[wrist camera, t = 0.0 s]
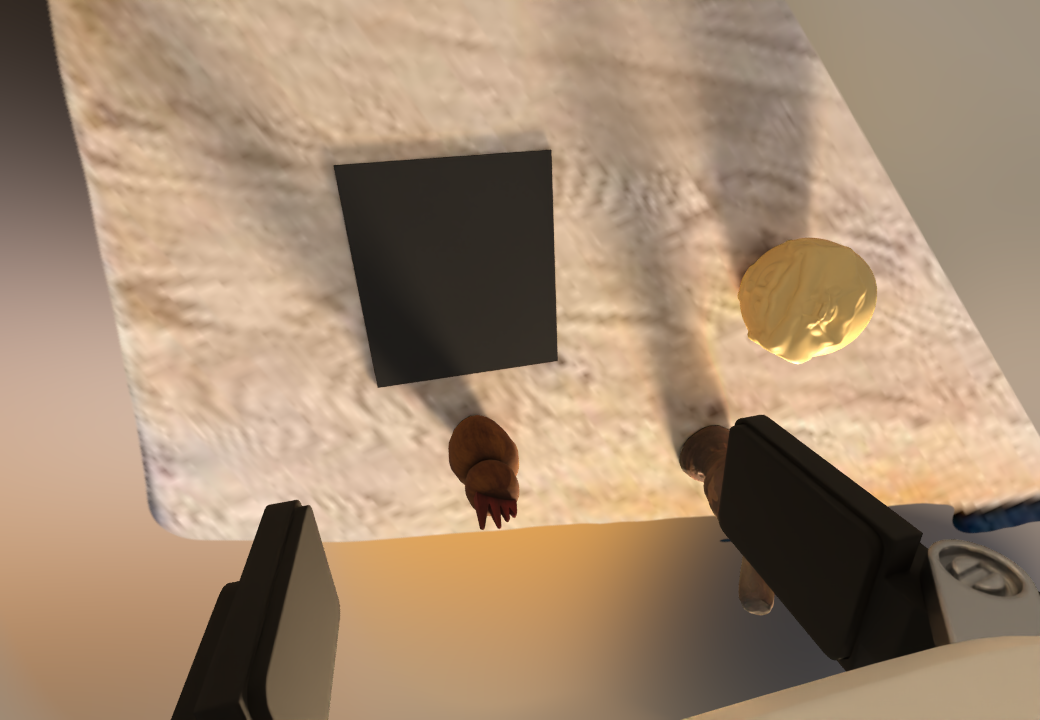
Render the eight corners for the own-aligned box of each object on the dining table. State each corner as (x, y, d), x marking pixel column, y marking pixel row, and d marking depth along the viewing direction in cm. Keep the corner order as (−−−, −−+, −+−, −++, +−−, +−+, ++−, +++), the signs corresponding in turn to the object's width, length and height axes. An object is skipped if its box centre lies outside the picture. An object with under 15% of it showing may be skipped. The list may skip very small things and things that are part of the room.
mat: (333, 165, 40) (333, 165, 40) (550, 149, 43) (551, 149, 43) (377, 387, 48) (377, 387, 48) (557, 360, 52) (557, 360, 51)
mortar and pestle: (675, 506, 64) (783, 650, 46) (639, 469, 60) (742, 610, 42) (747, 448, 63) (887, 572, 45) (715, 407, 59) (854, 524, 41)
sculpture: (745, 220, 50) (828, 240, 40) (837, 243, 54) (934, 266, 44) (705, 327, 54) (772, 368, 44) (793, 342, 57) (873, 383, 48)
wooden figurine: (434, 435, 52) (447, 538, 39) (471, 396, 51) (498, 487, 38) (482, 467, 55) (509, 573, 41) (518, 430, 54) (558, 526, 41)
